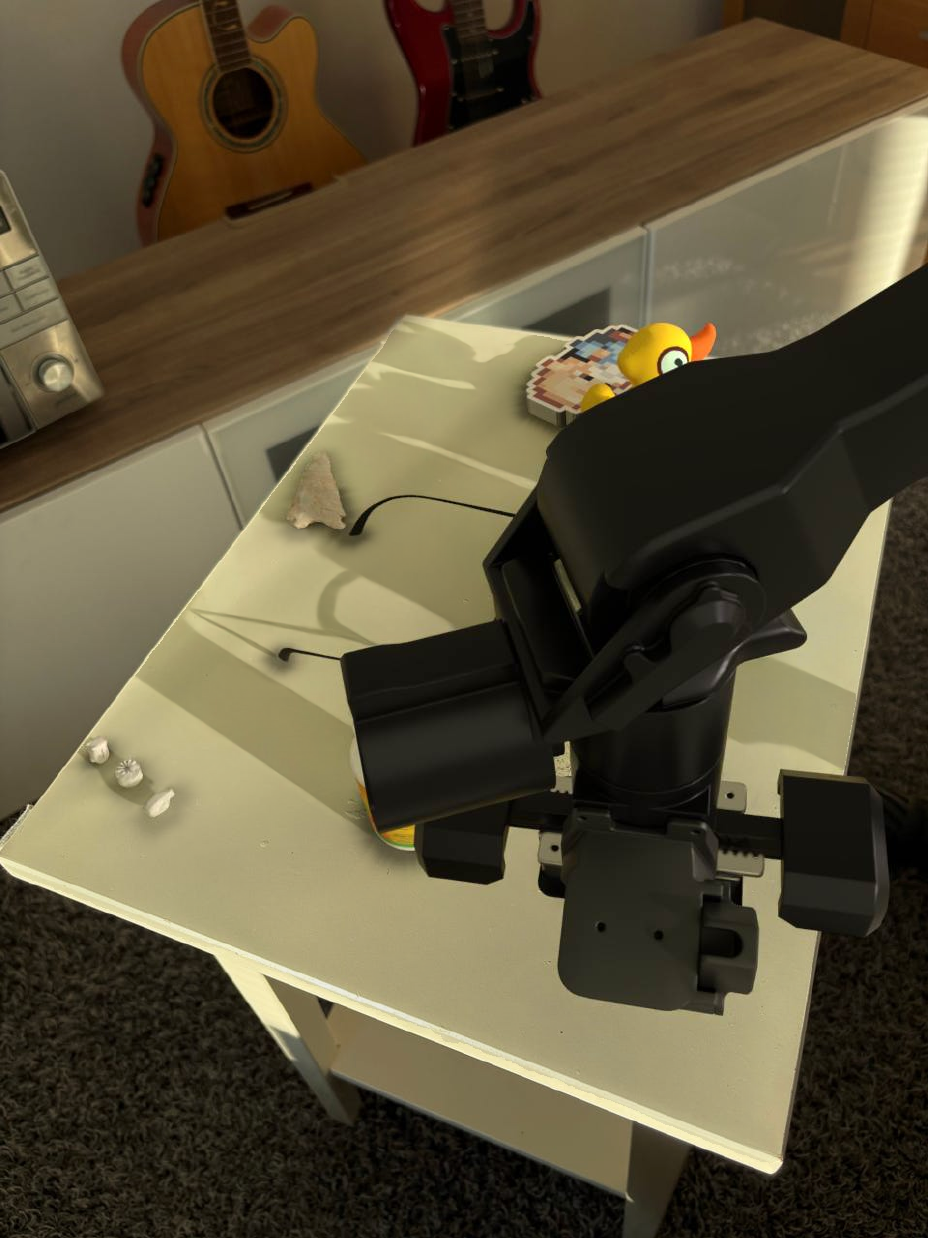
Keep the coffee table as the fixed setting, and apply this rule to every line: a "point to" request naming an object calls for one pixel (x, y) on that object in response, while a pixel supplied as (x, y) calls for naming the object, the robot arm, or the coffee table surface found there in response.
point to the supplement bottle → (395, 838)
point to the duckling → (654, 356)
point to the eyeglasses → (358, 530)
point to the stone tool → (317, 496)
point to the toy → (577, 374)
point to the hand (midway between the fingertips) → (639, 915)
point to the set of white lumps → (129, 776)
